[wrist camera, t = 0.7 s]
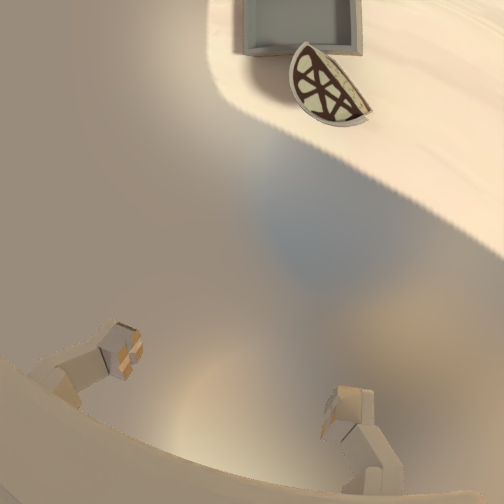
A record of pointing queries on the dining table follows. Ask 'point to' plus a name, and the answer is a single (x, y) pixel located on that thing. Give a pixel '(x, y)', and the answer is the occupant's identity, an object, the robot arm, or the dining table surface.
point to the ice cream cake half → (325, 89)
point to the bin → (302, 26)
